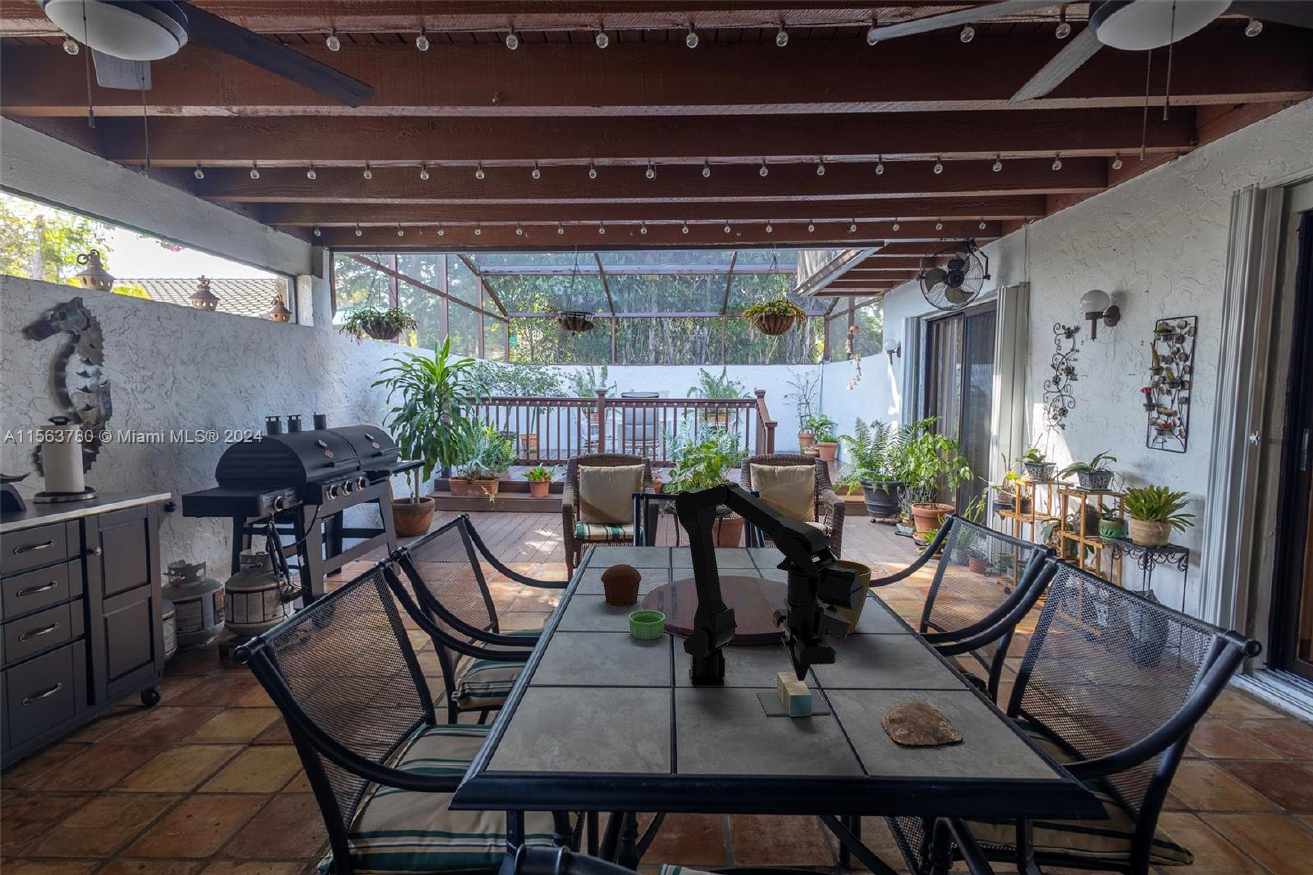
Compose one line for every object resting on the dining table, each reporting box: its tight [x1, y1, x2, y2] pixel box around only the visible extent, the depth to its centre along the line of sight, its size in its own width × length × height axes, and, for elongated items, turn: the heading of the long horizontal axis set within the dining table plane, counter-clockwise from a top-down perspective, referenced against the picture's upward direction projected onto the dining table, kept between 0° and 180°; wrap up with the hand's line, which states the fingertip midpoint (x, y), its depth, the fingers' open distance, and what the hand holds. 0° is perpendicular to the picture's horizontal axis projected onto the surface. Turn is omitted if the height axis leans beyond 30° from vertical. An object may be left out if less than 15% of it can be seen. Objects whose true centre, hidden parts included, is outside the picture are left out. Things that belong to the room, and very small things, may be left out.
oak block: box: [776, 671, 812, 717], centre depth 116 cm, size 4×4×9 cm
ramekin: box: [628, 609, 666, 641], centre depth 150 cm, size 9×9×4 cm
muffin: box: [600, 563, 642, 607], centre depth 172 cm, size 12×11×10 cm
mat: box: [756, 690, 831, 717], centre depth 117 cm, size 12×8×1 cm, turn 94°
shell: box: [880, 702, 963, 749], centre depth 109 cm, size 12×13×4 cm
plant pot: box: [813, 559, 873, 635], centre depth 153 cm, size 15×15×16 cm
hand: (800, 680), depth 112 cm, fingers closed
